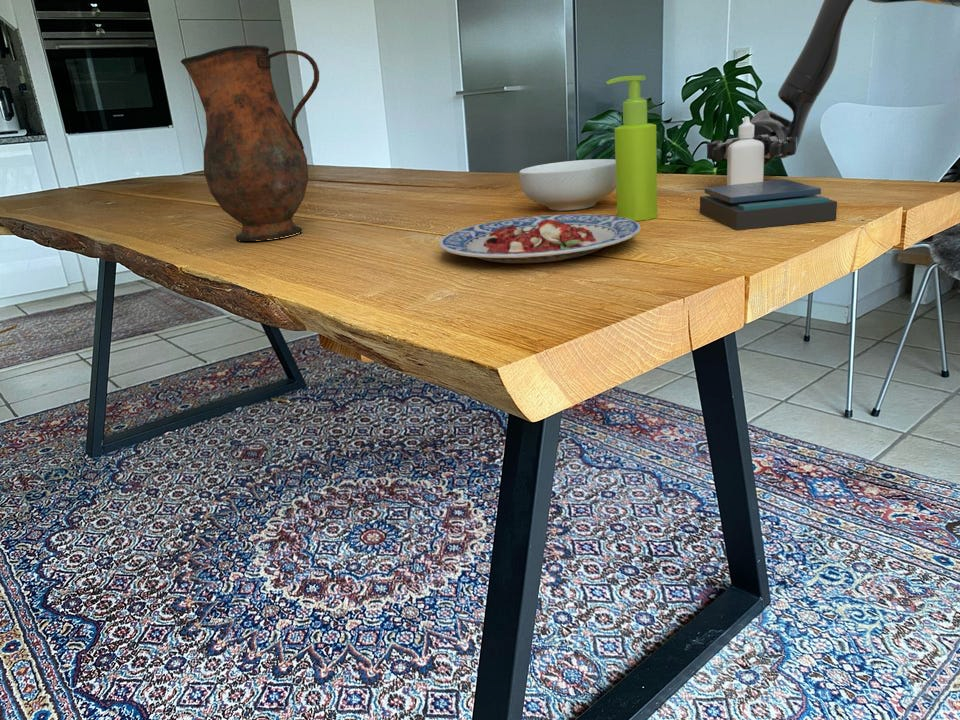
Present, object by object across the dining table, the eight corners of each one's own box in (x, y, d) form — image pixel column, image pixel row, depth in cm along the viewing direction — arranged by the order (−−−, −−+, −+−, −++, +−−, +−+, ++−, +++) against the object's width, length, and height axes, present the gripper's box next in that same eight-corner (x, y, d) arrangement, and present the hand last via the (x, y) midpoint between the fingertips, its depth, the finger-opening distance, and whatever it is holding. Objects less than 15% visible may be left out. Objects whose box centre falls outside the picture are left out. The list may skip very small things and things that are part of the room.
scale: (786, 204, 109) (787, 184, 108) (836, 220, 95) (837, 197, 94) (699, 212, 109) (699, 193, 108) (736, 230, 95) (736, 207, 94)
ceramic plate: (424, 246, 105) (422, 225, 104) (593, 222, 110) (592, 202, 109) (466, 285, 81) (463, 258, 80) (678, 252, 86) (678, 227, 85)
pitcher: (231, 233, 134) (193, 56, 124) (348, 221, 135) (320, 44, 125) (206, 251, 118) (161, 50, 108) (339, 237, 119) (307, 36, 109)
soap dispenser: (616, 214, 115) (612, 77, 108) (661, 213, 111) (660, 72, 105) (605, 221, 110) (600, 78, 103) (651, 220, 107) (649, 73, 100)
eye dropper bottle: (729, 189, 127) (731, 116, 123) (764, 188, 124) (766, 114, 120) (725, 193, 123) (726, 118, 119) (760, 192, 121) (763, 116, 117)
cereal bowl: (610, 195, 134) (608, 155, 131) (632, 208, 118) (631, 163, 116) (517, 205, 133) (514, 165, 131) (527, 219, 118) (524, 174, 115)
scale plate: (785, 184, 108) (786, 179, 107) (821, 194, 97) (821, 188, 97) (704, 193, 108) (704, 187, 107) (730, 203, 97) (731, 197, 97)
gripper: (801, 161, 132) (790, 174, 118) (719, 165, 138) (700, 177, 125) (804, 117, 129) (792, 125, 116) (720, 123, 136) (700, 131, 123)
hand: (744, 152), depth 120 cm, fingers open, 8 cm apart
